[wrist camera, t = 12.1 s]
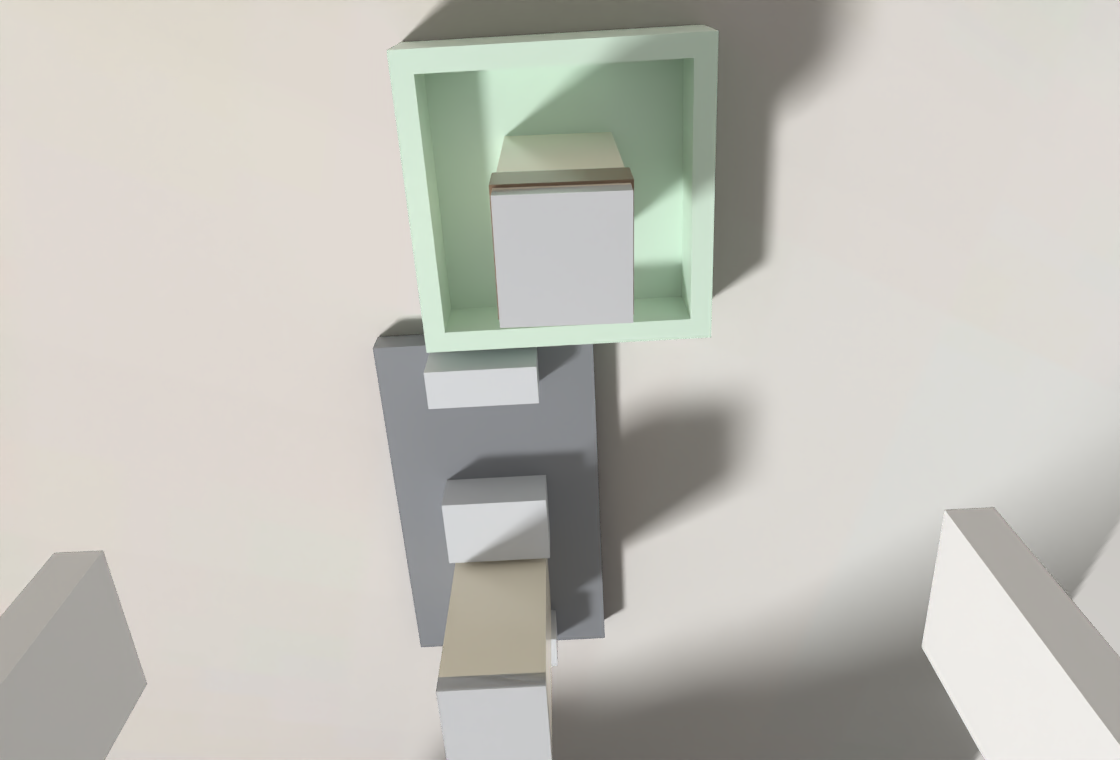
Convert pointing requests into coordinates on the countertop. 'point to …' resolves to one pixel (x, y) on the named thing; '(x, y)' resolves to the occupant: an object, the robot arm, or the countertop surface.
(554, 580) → the block
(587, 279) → the block
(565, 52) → the tray
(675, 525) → the countertop surface
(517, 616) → the block
